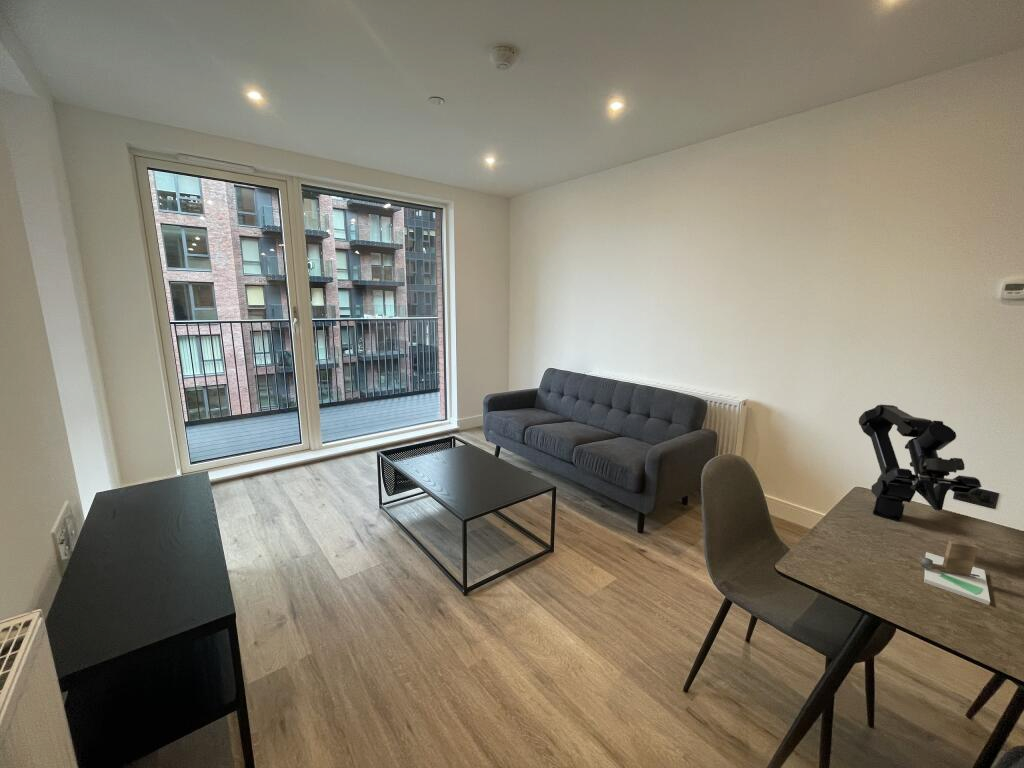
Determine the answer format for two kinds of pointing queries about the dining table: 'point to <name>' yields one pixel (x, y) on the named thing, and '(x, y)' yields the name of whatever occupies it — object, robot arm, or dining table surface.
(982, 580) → the green-marked white board
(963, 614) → the dining table surface
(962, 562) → the brown slab with knob
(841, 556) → the dining table surface
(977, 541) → the dining table surface
